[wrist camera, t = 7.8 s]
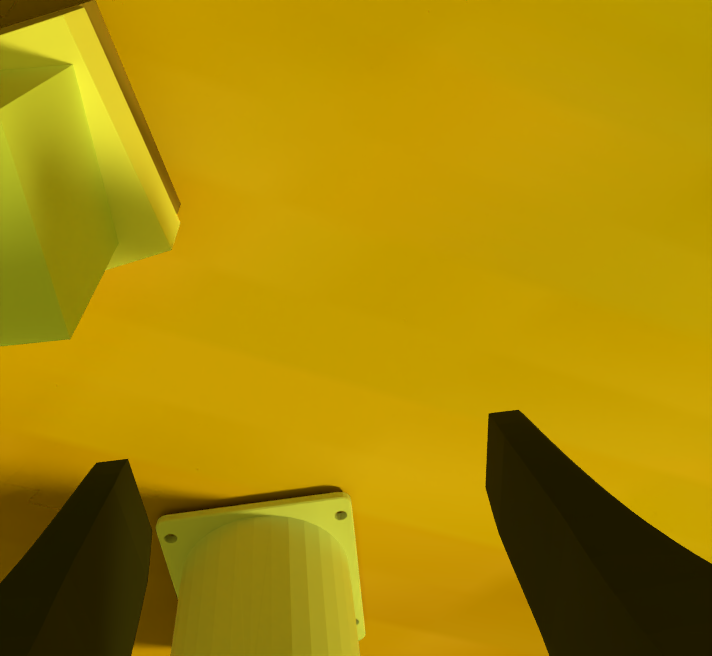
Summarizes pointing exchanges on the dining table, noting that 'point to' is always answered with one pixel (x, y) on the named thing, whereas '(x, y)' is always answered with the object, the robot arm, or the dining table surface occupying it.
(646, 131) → the dining table surface
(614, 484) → the dining table surface
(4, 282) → the sage block
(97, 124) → the cream slab
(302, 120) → the dining table surface
